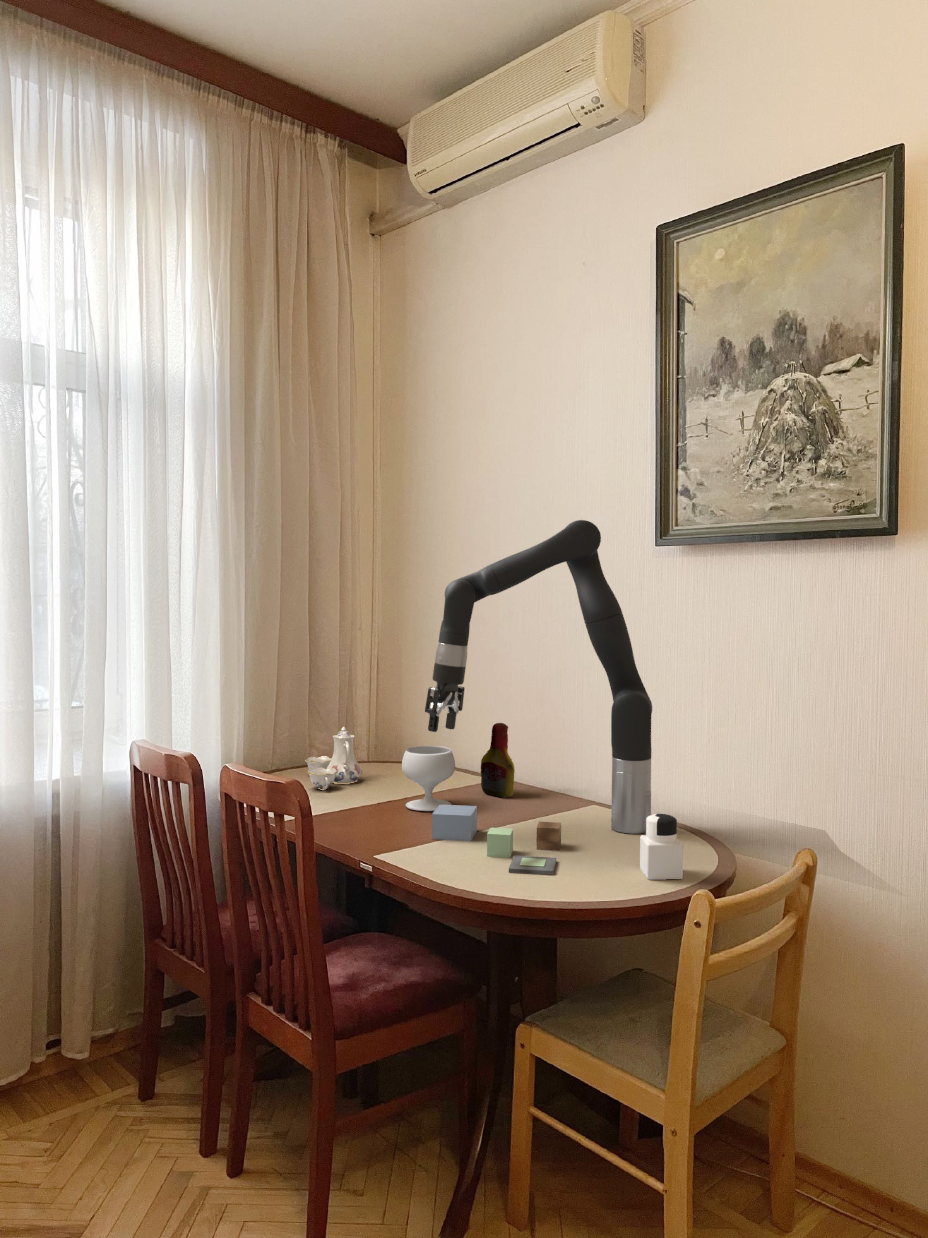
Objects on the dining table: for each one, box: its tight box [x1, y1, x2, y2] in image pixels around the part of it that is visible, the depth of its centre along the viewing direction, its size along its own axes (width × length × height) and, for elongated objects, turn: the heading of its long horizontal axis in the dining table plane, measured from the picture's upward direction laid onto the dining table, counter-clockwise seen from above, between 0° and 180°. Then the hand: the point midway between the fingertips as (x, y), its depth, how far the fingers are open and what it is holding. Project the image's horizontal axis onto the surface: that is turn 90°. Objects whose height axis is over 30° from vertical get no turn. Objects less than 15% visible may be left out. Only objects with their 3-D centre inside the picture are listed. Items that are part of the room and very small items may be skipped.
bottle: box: [480, 722, 516, 799], centre depth 256 cm, size 12×6×20 cm, turn 36°
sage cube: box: [486, 827, 514, 858], centre depth 203 cm, size 5×5×5 cm
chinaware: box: [304, 726, 363, 791], centre depth 272 cm, size 28×17×17 cm, turn 17°
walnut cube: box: [536, 821, 562, 852], centre depth 208 cm, size 5×5×5 cm
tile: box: [508, 854, 557, 876], centre depth 193 cm, size 9×9×1 cm
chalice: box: [401, 745, 456, 812], centre depth 243 cm, size 14×14×15 cm
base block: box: [431, 804, 478, 842], centre depth 217 cm, size 9×9×6 cm
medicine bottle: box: [639, 813, 684, 881], centre depth 189 cm, size 7×7×12 cm
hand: (441, 730), depth 222 cm, fingers open, 8 cm apart
